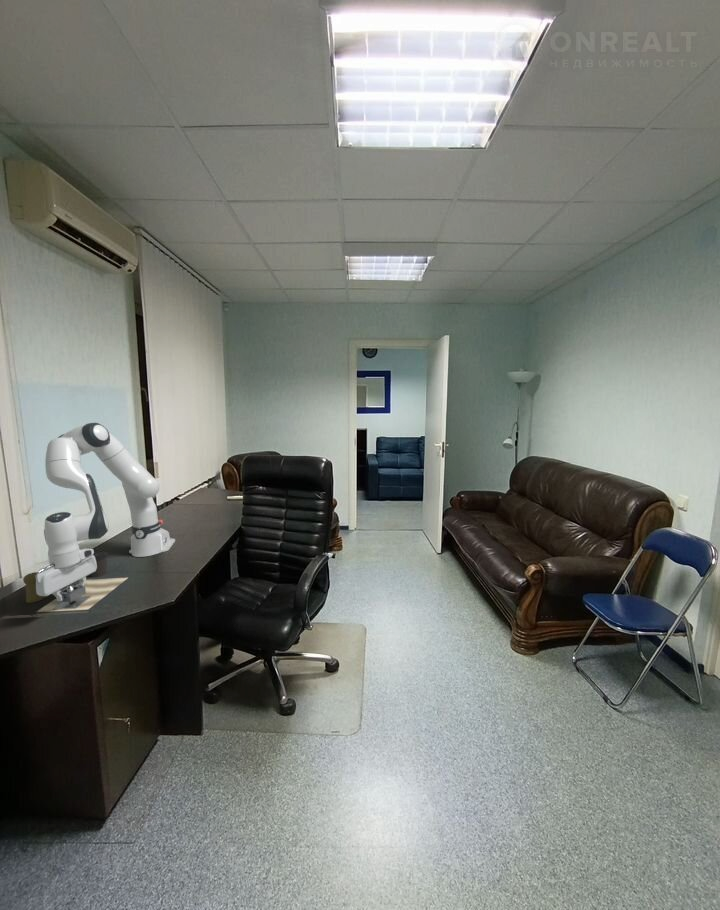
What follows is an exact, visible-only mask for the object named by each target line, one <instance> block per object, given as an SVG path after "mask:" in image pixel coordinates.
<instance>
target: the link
mask: <svg viewBox="0 0 720 910" xmlns="http://www.w3.org/2000/svg"><path fill="white" fill-rule="evenodd" d="M72 585H73V584H72ZM76 585H77V584H76ZM76 585H73V587H74V591H72V592H67V589H66V587H64V588H62V589H60V590H61V592H60V594H61V595H64V596H65V597H64V598H65V599H64V600H62V601H60V602H72V601H74V600H76V599H78V598H79V597H81V596H83V595H85V594H86V590H85V586H76ZM55 599H56V600H57V598H56V597H55Z"/></svg>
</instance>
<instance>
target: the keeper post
mask: <svg viewBox="0 0 720 910" xmlns="http://www.w3.org/2000/svg"><path fill="white" fill-rule="evenodd" d="M65 588H66V589H67V592H72V591H74V587H73V584H70V585H68V586H66V587H65ZM90 597H91V596H81V597H79V598H78V599H76V600H74V601H72V602H61V603H60V604H59V605H57V606H56V607H54V608H53V610H60V609H76V608H77V607H79V606H80V605H81V604H83V603H84V602H85V601H87V600H88V599H89V598H90Z"/></svg>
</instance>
